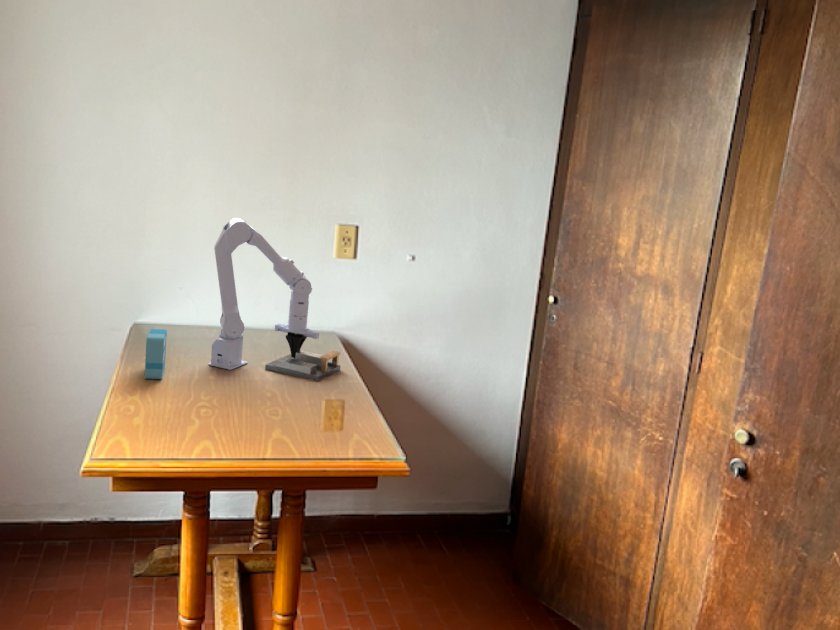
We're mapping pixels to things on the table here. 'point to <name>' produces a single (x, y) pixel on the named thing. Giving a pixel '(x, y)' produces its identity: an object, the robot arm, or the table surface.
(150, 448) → the table surface
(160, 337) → the data package
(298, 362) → the base
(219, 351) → the robot arm
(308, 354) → the bar
